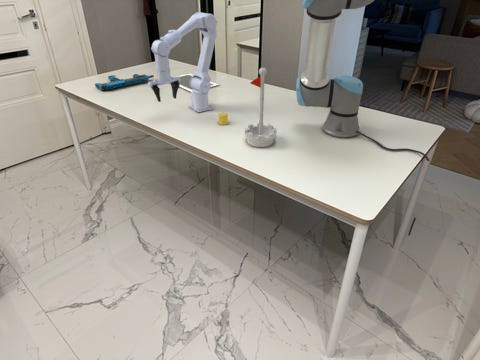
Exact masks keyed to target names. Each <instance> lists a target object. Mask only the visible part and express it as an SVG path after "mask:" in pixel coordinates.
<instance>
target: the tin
mask: <svg viewBox="0 0 480 360" xmlns="http://www.w3.org/2000/svg"><path fill="white" fill-rule="evenodd" d="M228 113H229V112H228ZM228 113H227V112H225V111H222V112H218V115H217V116H218V124H219V125H221V126H226V125H228V124H229V114H228Z"/></svg>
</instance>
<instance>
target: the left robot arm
mask: <svg viewBox="0 0 480 360" xmlns="http://www.w3.org/2000/svg"><path fill="white" fill-rule="evenodd" d="M217 24H218V20H217V18H216V17H215V15H214V14H212V13H206V12H201V11H197V12H195V13H194V14H192V15H191V16H190V18H189V19H188V20H186V21H185V22H184V23H182V25H181V26H179V28H177V29H169V30H168V31H167V33H166V34H165V35H164V36H160V38H159V39H155V40H154V41H153V42H152V44H151V47H150V50H151V52H152V53H153V55H154V61H155V69H156V75H157V79H154V80H151V81H148V82H147V83H148V87H149V88H151V90H152V91H153V93H154V95H155V97H156V100H157V102H159V103H161V102H162V101H161V88H160V87H159V86H163V85H167V84H170V87H171V93H172V94H171V95H172V98H173V99H177V96H178V91H179V88H180V87H179V86H180V83H178V82H181V80H180V77H176V76H171V67H170V58H169V56H170V53H171V50H172V49H173V48H175V47H176V46H177V45H178V44H180V43H181V42H182V38H183V37H184V36H186V35H187V34H189V33H190V32H192V31H193V30H195V29H198V30H199V31H200V32H201V34H202V36H203V39H202V46H201V49H200V53H199V58H198V62H197V68H196V70H195V71H194V72H193V73H192V74H193V76H192V78H191V79H190V87H191V88H192V90H193V91H192V92H190V106H189V108H191V109H192V110H193V111H195V112H196V113H202V112H206V111H210V110H213V107H211V106H210V105H209V91H210V89H211V88H210V81H211V76H210V74H209V71H210V66H211V62H212V58H213V52H214V49H215V43H216V41H217V40H216V39H217Z"/></svg>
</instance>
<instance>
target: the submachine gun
mask: <svg viewBox="0 0 480 360" xmlns="http://www.w3.org/2000/svg"><path fill="white" fill-rule="evenodd" d="M107 77H108V80H109V82H103V83H100V82H96V83H94V86H95V88H97V89H98V90H100V91H107V90H113V91H114V90H115V89H116V88H120V87H125V86H129V85H134V84H138V83H139V84H140V83H145V82H146V83H147V81H148V80H150V79H151V78H154V77H155V76H154V74H151V75H147V74H138V73H134V74H133V75H132V77H129V78H121V79H120V78H118V77H117V76H116V75H113V74H112V75H108V76H107Z"/></svg>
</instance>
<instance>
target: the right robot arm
mask: <svg viewBox="0 0 480 360" xmlns="http://www.w3.org/2000/svg"><path fill="white" fill-rule="evenodd" d="M374 1H375V0H303V1H302V8H303V9H305V10H306V16H307V17H309V26H308V36H307V37H308V39H307V47H306V57H305V66H304V71H303V72H302V73H301V75H300V77H297V79H296V85H295V86H296V87H295V88H296V92H295V93H296V102H297V104H298V105H299V106H301V107H307V108H308V107H309V108H310V107H311V108H313V107H314V108H328V109H329V112H328V115H327V117H326V120H325V121H324V123H323V126H322V130H323V132H324V133H325V134H326V135H329V136H332V137H335V138H339V139H341V138H342V139H349V138H354V137H356V136H357V135H360V136H363V137H364V138H367V139H369V140H370V141H372V142H374V143H375V144H376V145H378V146H379V147H381V148H382V149H384V150H387V151H393V152H395V151H396V152H397V151H399V152H400V151H410V152H413V153H417V154H420V155H422V156H423V157H424V158H425V159H426V161H427V162H431V161H430V158H429V157H428V155H426V154H425V153H424V152H422V151H420V150H416V149H412V148H390V147H386V146H385V145H383V144H382V143H380V142H379V141H377V140H375V139H374V138H372V137H370V136H368V135H367V134H365V133H362V132H361V131H360V125H359V118H358V117H359V116H358V114H359V111H360V110H359V109H360V105H361V99H362V95H363V89H364V83H363V82H362V80H361V79H359V78H358V77H355V76H351V75H348V74H337V75H334V79H333V78H330V77H331V76H330V75H329V73H328V68H329V61H330V56H331V51H332V50H331V49H332V44H333V37H334V32H335V25H336V20H337V19H338V18H340V16H341V15H342V11H343V10H357V9H361V8H363V7H366V6H368V5H370V4H372V3H373V2H374ZM416 220H417V217H414V218H413V220H412V223H411V225H410V228H409V230H408V234H407V237H410V236H411V232H412V230H413V227H414V224H415V222H416Z"/></svg>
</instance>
